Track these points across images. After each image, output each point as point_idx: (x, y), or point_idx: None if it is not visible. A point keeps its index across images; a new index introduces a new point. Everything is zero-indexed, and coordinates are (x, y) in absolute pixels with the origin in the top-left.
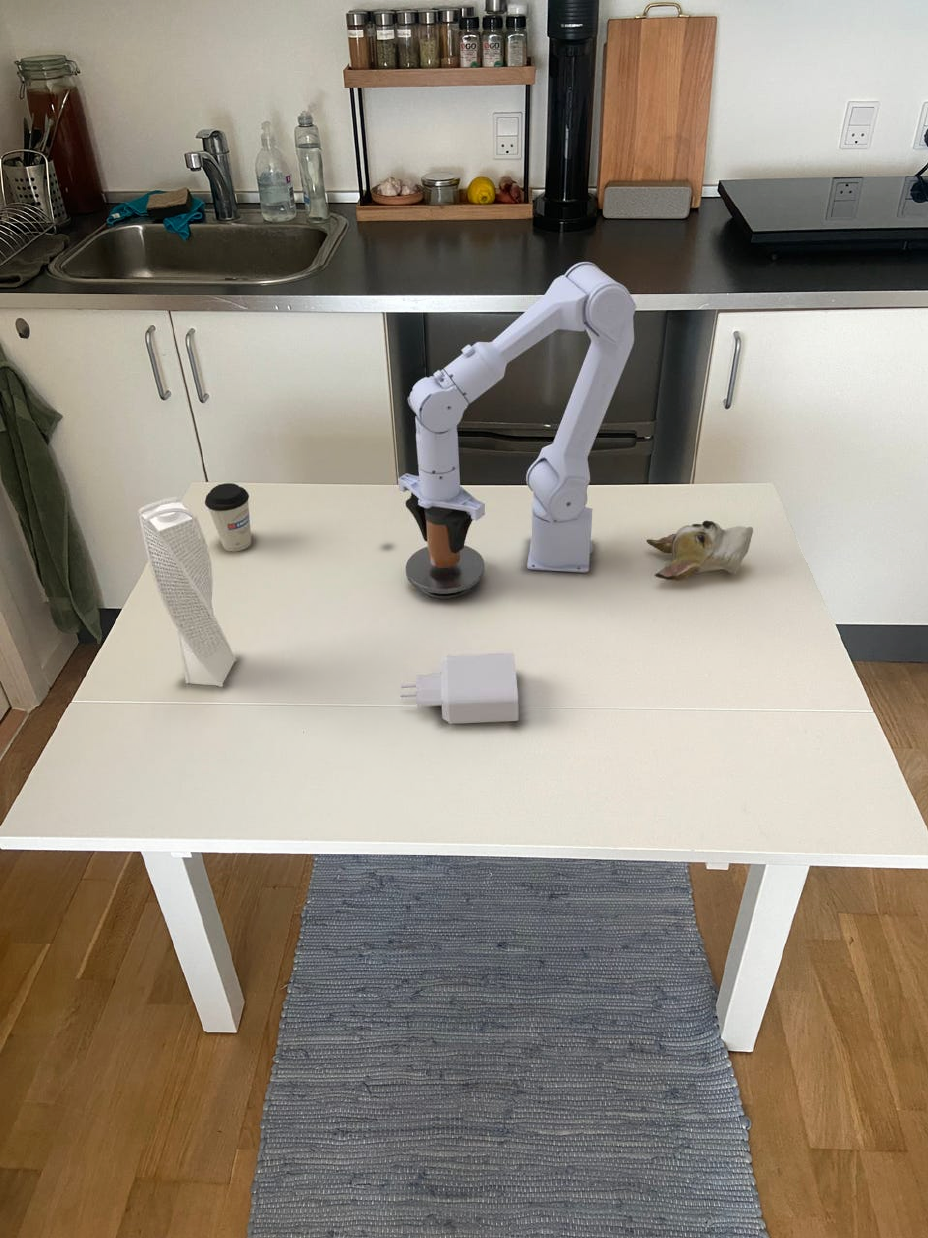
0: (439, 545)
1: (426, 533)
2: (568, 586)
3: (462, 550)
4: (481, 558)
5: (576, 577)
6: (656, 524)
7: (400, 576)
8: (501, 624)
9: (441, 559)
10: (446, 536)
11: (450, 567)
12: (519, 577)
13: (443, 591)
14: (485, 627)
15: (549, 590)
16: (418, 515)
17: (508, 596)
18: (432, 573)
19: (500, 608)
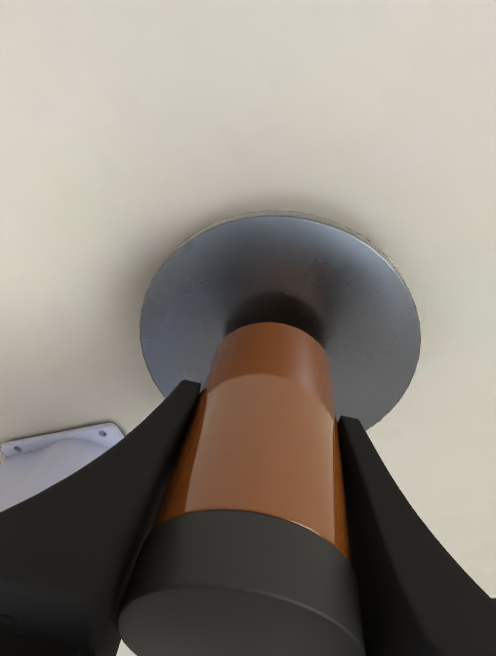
0: (238, 392)
1: (347, 451)
2: (3, 396)
3: None
4: None
5: (13, 425)
6: None
7: (433, 296)
8: (17, 198)
9: (244, 345)
10: (192, 444)
11: None
12: (113, 393)
13: (207, 227)
14: (43, 161)
15: (25, 372)
16: (399, 564)
17: (87, 321)
18: (294, 303)
19: (70, 267)
